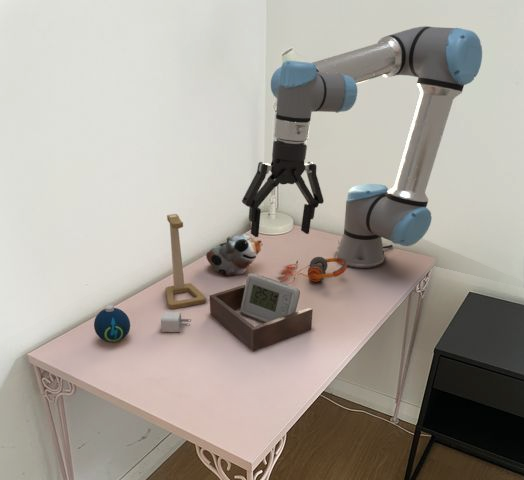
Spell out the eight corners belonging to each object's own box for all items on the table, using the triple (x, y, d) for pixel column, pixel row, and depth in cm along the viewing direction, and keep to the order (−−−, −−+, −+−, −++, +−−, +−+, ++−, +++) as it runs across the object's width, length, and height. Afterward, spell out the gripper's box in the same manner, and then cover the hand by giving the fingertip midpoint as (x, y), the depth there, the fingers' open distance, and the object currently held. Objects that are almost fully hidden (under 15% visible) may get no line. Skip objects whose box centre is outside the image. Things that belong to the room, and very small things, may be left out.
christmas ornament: (92, 348, 129) (84, 312, 123) (103, 329, 136) (96, 294, 130) (126, 350, 128) (121, 313, 123) (136, 331, 135) (131, 296, 130)
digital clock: (237, 312, 143) (236, 276, 137) (262, 302, 148) (262, 266, 142) (279, 337, 133) (280, 299, 127) (304, 325, 138) (306, 287, 132)
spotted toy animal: (237, 254, 174) (257, 221, 165) (254, 281, 169) (275, 248, 160) (198, 253, 164) (217, 217, 155) (215, 281, 159) (235, 246, 150)
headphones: (277, 294, 157) (345, 286, 152) (273, 277, 155) (342, 269, 149) (286, 270, 171) (349, 262, 165) (283, 254, 168) (347, 246, 163)
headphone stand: (169, 309, 144) (161, 231, 132) (160, 291, 153) (152, 216, 140) (207, 303, 147) (202, 226, 135) (196, 285, 156) (191, 211, 144)
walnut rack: (265, 297, 150) (265, 278, 147) (311, 329, 136) (312, 309, 133) (210, 315, 142) (209, 295, 139) (253, 351, 128) (253, 330, 125)
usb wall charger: (165, 324, 138) (163, 311, 136) (192, 325, 138) (191, 311, 136) (162, 332, 135) (160, 319, 133) (189, 333, 135) (188, 319, 132)
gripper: (245, 143, 111) (238, 242, 122) (347, 144, 121) (332, 235, 132) (231, 136, 117) (226, 231, 127) (330, 138, 127) (317, 226, 138)
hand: (280, 233), depth 130 cm, fingers open, 13 cm apart
